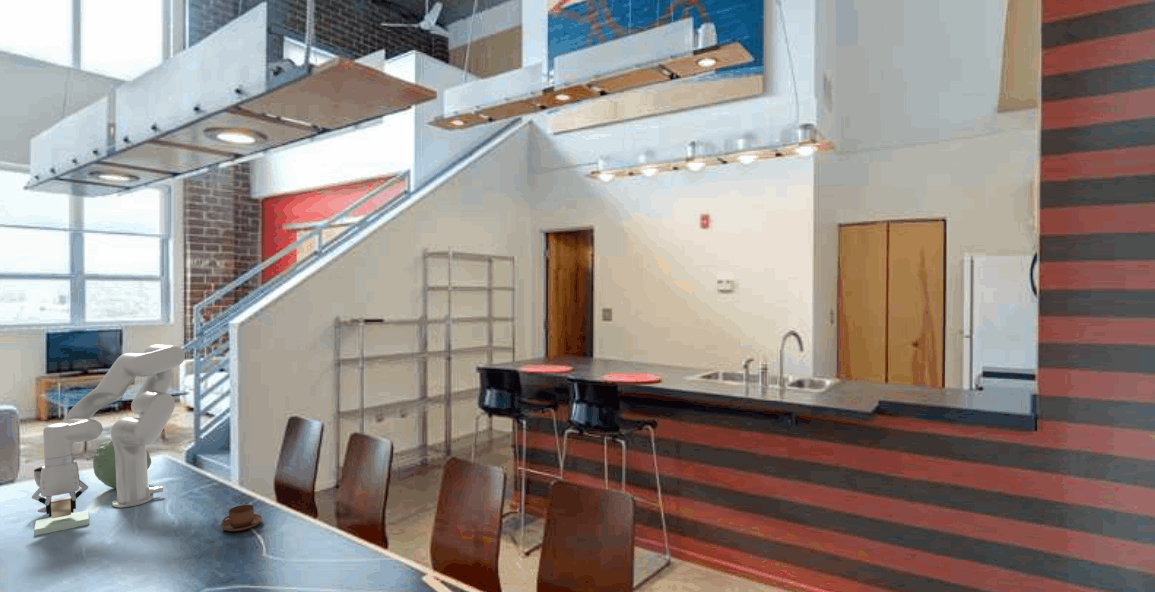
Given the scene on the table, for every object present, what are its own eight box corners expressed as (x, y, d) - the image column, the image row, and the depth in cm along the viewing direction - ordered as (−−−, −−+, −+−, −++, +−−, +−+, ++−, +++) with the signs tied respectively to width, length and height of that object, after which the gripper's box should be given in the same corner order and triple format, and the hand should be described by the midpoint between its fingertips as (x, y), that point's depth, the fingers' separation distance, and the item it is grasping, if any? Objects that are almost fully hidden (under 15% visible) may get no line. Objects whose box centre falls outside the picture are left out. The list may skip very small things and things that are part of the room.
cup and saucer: (244, 535, 200) (243, 517, 199) (212, 533, 202) (211, 514, 202) (270, 520, 211) (269, 503, 211) (239, 518, 214) (238, 501, 214)
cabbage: (159, 483, 251) (157, 434, 250) (104, 498, 235) (102, 446, 234) (141, 477, 259) (138, 430, 258) (87, 491, 243) (84, 440, 242)
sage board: (88, 515, 218) (88, 509, 218) (89, 524, 210) (88, 518, 210) (36, 526, 210) (36, 520, 210) (34, 535, 202) (34, 529, 202)
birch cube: (71, 510, 213) (70, 496, 213) (70, 514, 209) (70, 500, 209) (52, 514, 210) (51, 499, 210) (51, 518, 206) (50, 503, 206)
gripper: (91, 453, 217) (93, 504, 218) (26, 462, 207) (28, 516, 207) (91, 458, 211) (93, 510, 212) (24, 468, 201) (27, 523, 202)
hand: (61, 513), depth 210 cm, fingers closed on birch cube, 5 cm apart
